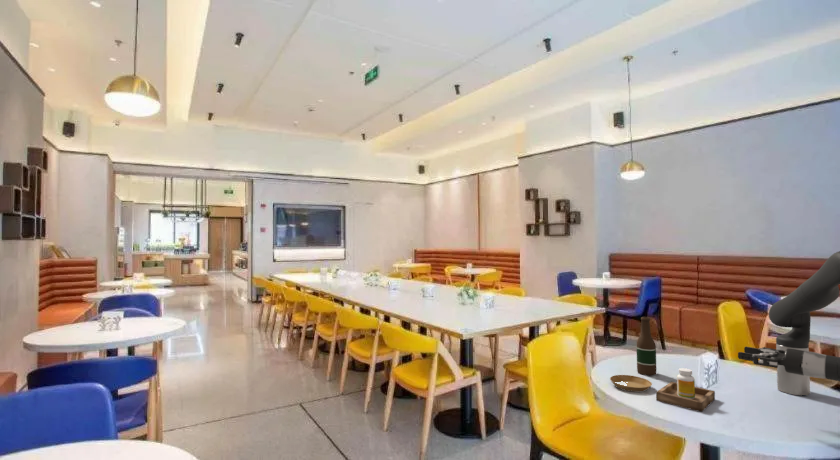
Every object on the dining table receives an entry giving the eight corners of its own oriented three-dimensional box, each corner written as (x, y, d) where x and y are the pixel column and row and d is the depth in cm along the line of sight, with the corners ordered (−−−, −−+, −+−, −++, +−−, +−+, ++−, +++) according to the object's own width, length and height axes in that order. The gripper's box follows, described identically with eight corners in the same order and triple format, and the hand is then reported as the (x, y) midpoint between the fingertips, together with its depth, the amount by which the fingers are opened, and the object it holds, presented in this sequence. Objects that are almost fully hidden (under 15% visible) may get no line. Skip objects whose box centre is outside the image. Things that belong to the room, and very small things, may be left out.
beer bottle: (660, 376, 178) (659, 318, 179) (642, 376, 179) (640, 319, 179) (650, 370, 186) (649, 315, 187) (633, 370, 186) (631, 315, 187)
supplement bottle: (697, 400, 149) (697, 372, 149) (681, 399, 150) (680, 371, 150) (691, 394, 154) (690, 367, 154) (674, 393, 155) (674, 367, 155)
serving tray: (671, 389, 163) (671, 381, 163) (714, 399, 152) (714, 391, 152) (656, 400, 152) (656, 392, 152) (701, 411, 141) (701, 402, 142)
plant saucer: (642, 381, 173) (642, 375, 173) (659, 394, 158) (658, 387, 158) (604, 380, 174) (604, 374, 174) (617, 393, 160) (617, 386, 160)
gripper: (808, 346, 136) (746, 337, 148) (802, 356, 126) (735, 345, 138) (809, 369, 136) (746, 358, 148) (802, 381, 126) (736, 368, 138)
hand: (741, 352), depth 143 cm, fingers open, 8 cm apart
